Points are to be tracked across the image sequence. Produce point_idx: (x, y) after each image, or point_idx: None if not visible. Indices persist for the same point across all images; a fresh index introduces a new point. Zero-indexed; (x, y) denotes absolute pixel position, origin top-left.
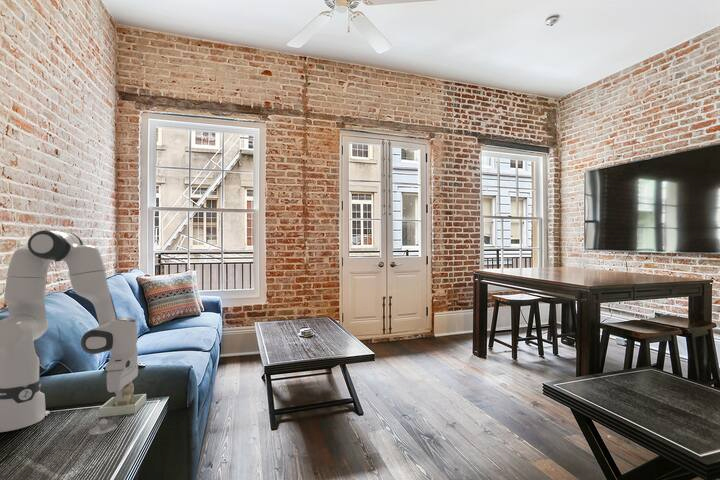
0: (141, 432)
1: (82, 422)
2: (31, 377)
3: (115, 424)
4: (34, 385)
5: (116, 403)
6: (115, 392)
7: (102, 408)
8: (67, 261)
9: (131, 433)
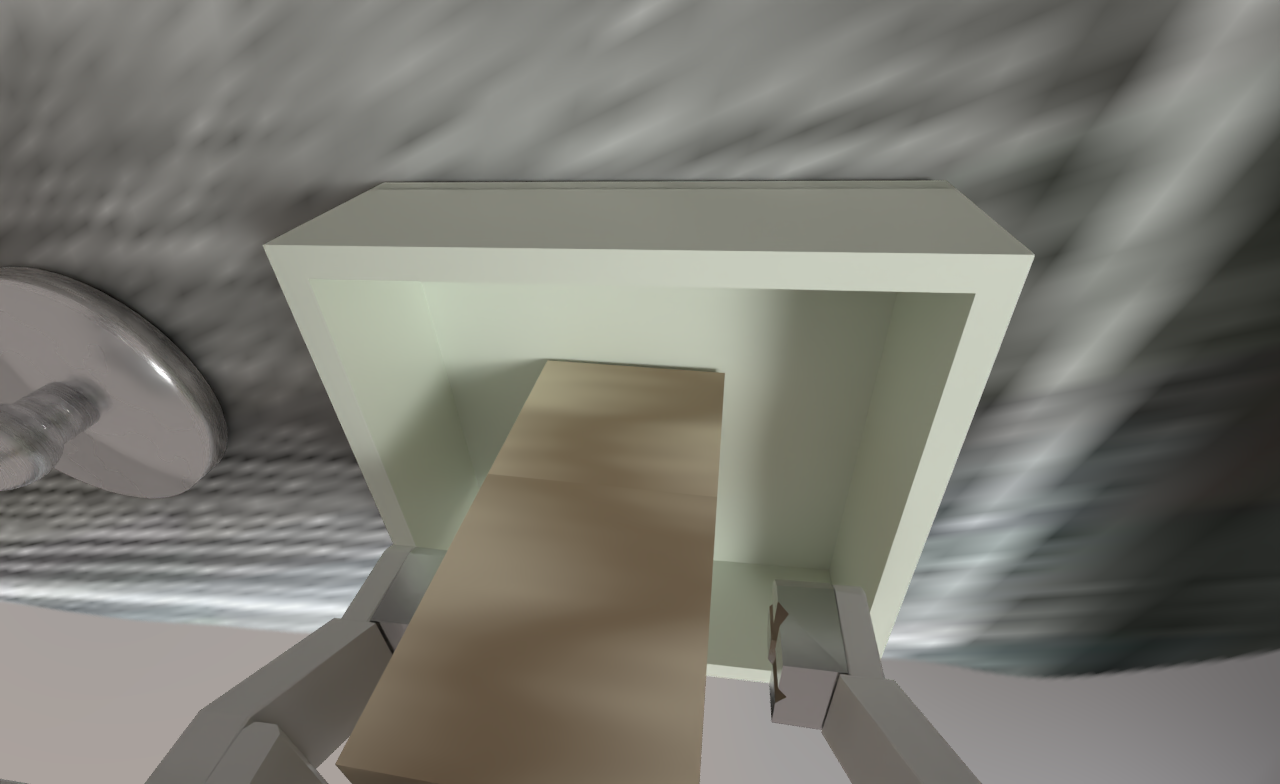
0: (201, 607)
1: None
2: None
3: (193, 472)
4: None
5: (501, 462)
6: (218, 705)
7: (293, 309)
8: None
9: (169, 564)
